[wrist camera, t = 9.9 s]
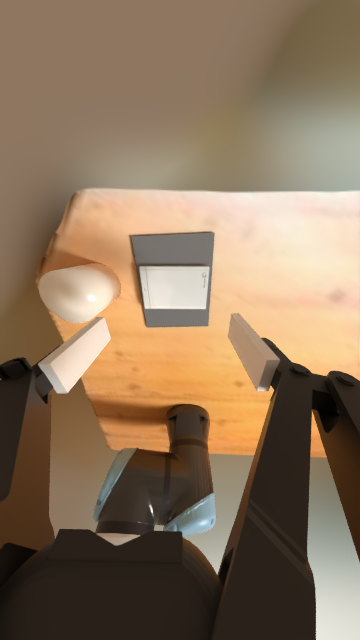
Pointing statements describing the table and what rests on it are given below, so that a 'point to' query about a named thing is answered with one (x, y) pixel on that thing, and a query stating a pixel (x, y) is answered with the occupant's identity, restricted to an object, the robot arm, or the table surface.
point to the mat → (175, 253)
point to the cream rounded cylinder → (79, 291)
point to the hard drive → (174, 286)
